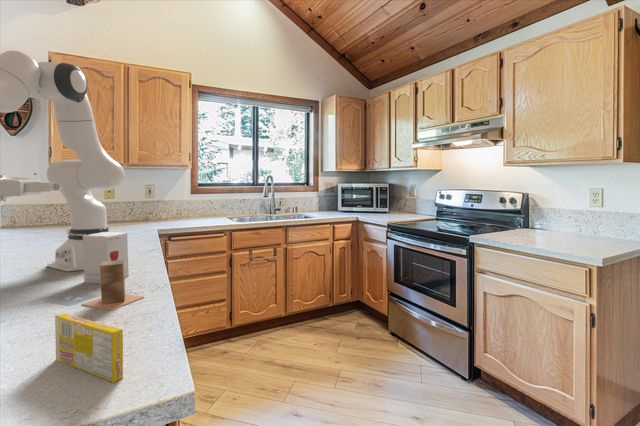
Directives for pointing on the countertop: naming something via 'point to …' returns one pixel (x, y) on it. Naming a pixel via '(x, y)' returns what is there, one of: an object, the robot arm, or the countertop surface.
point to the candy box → (89, 346)
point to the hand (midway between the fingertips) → (55, 187)
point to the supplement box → (103, 253)
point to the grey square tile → (72, 298)
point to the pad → (112, 306)
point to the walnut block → (112, 281)
